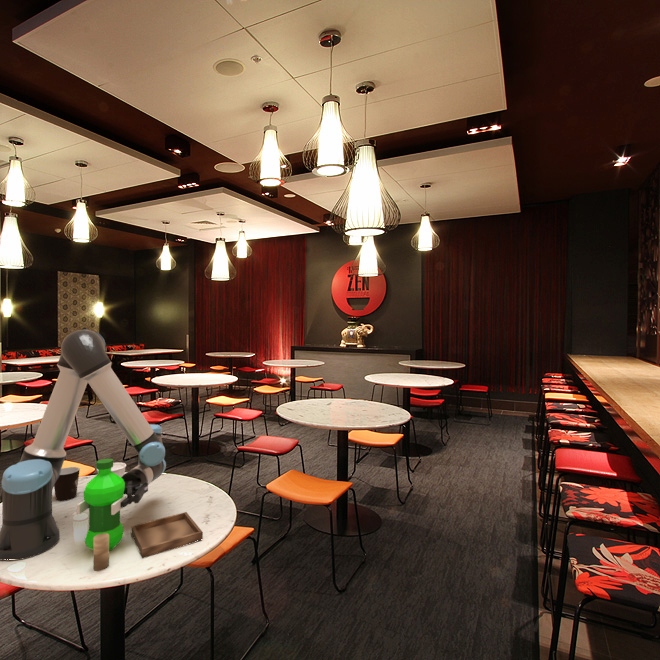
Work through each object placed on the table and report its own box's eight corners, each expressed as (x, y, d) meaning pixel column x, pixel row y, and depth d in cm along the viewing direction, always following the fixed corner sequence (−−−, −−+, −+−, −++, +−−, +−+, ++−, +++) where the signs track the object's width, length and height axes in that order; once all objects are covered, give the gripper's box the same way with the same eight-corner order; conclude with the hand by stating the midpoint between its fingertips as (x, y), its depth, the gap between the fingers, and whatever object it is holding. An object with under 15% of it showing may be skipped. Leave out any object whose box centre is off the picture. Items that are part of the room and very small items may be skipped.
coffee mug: (66, 503, 148) (66, 475, 148) (46, 501, 150) (46, 474, 150) (91, 490, 159) (91, 465, 159) (72, 489, 161) (72, 463, 161)
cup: (118, 488, 162) (118, 460, 162) (131, 494, 156) (131, 465, 156) (91, 496, 154) (91, 467, 154) (104, 503, 148) (104, 473, 148)
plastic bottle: (94, 540, 122) (94, 456, 122) (131, 538, 123) (131, 455, 123) (76, 558, 112) (76, 467, 112) (116, 557, 113) (116, 466, 113)
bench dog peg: (94, 572, 105) (94, 541, 105) (92, 565, 108) (92, 535, 108) (109, 567, 107) (109, 537, 107) (108, 561, 110) (108, 531, 110)
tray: (142, 558, 112) (142, 549, 112) (131, 533, 126) (131, 525, 126) (202, 540, 122) (202, 531, 122) (186, 519, 135) (186, 511, 135)
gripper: (168, 491, 135) (134, 523, 112) (104, 491, 135) (56, 522, 113) (168, 468, 135) (134, 496, 112) (104, 468, 135) (56, 495, 113)
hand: (95, 509), depth 113 cm, fingers closed on plastic bottle, 9 cm apart
